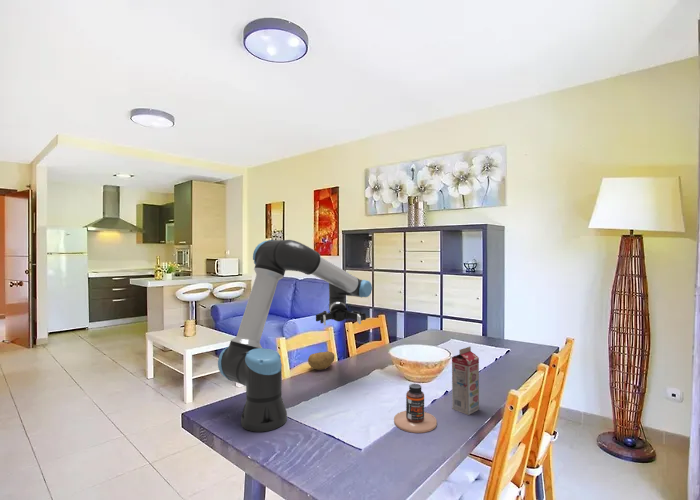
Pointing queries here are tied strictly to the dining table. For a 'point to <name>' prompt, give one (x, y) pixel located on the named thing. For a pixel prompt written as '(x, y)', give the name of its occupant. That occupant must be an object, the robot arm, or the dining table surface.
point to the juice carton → (465, 381)
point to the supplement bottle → (415, 404)
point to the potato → (321, 360)
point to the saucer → (421, 427)
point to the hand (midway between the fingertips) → (342, 321)
